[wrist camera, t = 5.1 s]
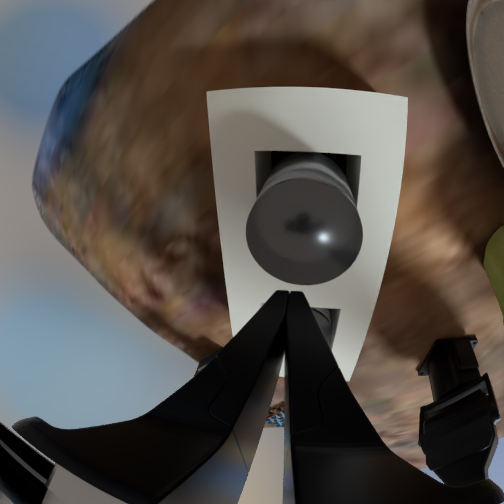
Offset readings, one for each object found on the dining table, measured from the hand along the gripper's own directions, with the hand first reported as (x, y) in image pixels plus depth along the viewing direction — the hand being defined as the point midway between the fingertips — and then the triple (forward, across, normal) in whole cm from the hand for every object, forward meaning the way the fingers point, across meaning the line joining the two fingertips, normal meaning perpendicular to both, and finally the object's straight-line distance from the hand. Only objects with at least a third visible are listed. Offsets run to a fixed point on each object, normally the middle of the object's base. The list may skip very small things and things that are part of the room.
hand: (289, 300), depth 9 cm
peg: (+9, 0, 0) cm, 9 cm away
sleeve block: (+13, 0, +5) cm, 14 cm away
